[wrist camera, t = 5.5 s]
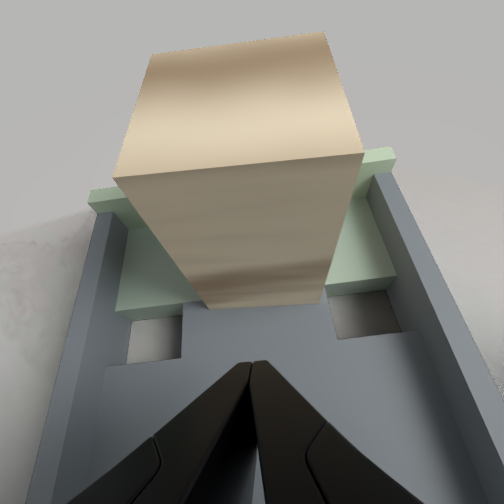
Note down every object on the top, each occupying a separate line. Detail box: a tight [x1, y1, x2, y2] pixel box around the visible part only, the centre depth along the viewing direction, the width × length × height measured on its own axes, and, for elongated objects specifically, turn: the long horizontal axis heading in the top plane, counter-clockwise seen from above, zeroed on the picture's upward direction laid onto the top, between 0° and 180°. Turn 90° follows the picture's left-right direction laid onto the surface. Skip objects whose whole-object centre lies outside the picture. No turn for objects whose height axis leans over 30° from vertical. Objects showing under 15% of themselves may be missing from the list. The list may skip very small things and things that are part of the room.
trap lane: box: [25, 147, 504, 504], centre depth 14 cm, size 18×18×5 cm
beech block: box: [112, 32, 365, 310], centre depth 12 cm, size 6×6×10 cm
